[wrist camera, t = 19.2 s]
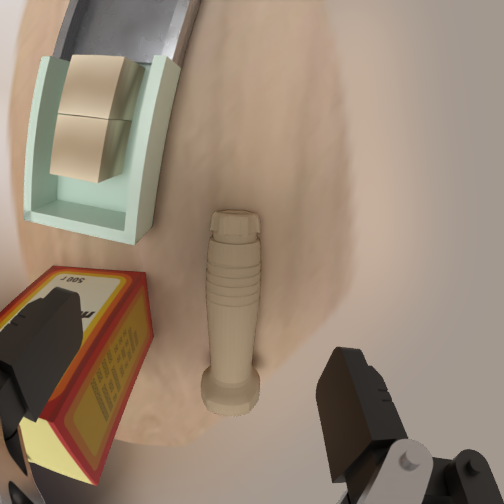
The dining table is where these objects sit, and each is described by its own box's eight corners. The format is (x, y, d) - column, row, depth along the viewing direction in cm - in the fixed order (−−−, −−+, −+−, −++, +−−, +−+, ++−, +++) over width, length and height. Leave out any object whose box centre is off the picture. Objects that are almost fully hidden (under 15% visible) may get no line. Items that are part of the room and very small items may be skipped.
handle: (274, 221, 18) (258, 417, 22) (270, 208, 24) (259, 370, 28) (189, 217, 18) (196, 413, 22) (207, 205, 24) (207, 367, 28)
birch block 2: (86, 115, 19) (57, 114, 15) (131, 121, 20) (108, 119, 16) (77, 165, 21) (49, 173, 17) (121, 174, 21) (97, 183, 17)
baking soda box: (145, 272, 24) (50, 428, 9) (153, 336, 27) (95, 490, 12) (53, 265, 24) (-61, 375, 9) (67, 325, 26) (-14, 443, 12)
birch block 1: (98, 64, 18) (72, 54, 14) (145, 68, 18) (124, 56, 14) (86, 113, 19) (57, 113, 15) (131, 120, 20) (108, 119, 16)
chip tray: (69, 64, 18) (41, 56, 14) (181, 68, 19) (166, 55, 15) (51, 206, 22) (23, 220, 18) (152, 226, 23) (134, 245, 19)
